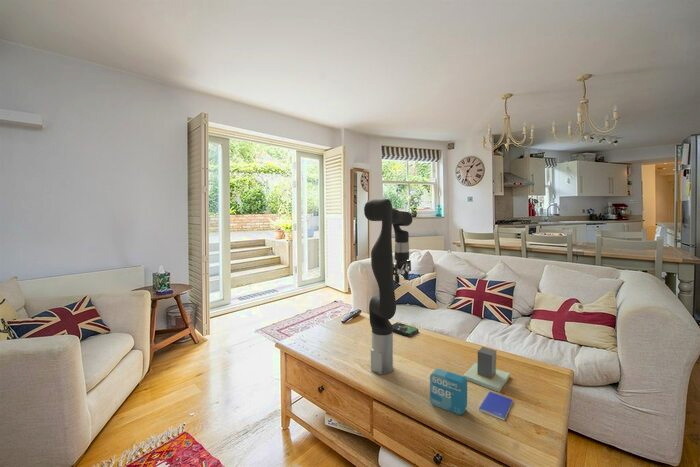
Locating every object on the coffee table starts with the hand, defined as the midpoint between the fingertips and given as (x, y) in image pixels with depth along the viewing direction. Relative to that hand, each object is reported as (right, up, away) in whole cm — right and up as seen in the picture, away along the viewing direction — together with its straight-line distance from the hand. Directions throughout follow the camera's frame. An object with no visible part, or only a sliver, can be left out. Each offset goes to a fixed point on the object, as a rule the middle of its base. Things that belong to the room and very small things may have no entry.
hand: (401, 281), depth 157 cm
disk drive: (+4, -33, +17) cm, 37 cm away
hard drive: (+25, -38, -49) cm, 67 cm away
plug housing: (+30, -34, -32) cm, 55 cm away
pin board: (+30, -35, -31) cm, 56 cm away
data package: (+8, -37, -49) cm, 62 cm away
